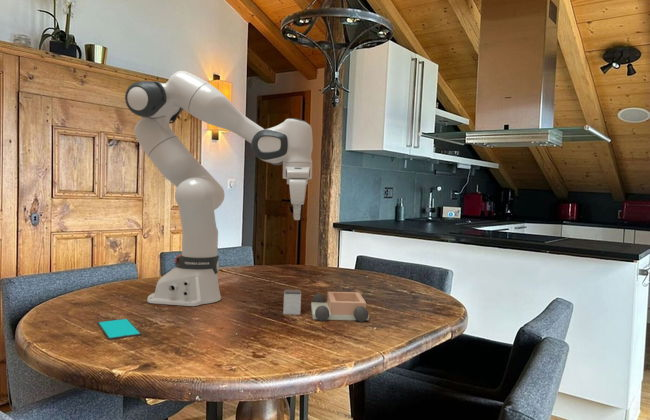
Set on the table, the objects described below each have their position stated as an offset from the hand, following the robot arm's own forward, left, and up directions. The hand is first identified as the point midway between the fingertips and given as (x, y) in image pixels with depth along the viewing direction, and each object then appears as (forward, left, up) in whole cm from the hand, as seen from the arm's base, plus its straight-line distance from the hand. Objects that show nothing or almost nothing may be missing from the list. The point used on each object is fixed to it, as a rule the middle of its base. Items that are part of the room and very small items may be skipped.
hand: (296, 219), depth 140 cm
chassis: (+14, -3, -28) cm, 31 cm away
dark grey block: (0, -3, -28) cm, 28 cm away
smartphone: (-43, -23, -28) cm, 57 cm away
